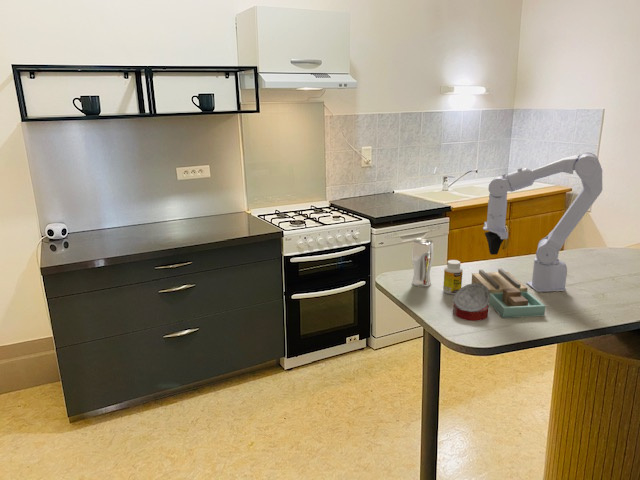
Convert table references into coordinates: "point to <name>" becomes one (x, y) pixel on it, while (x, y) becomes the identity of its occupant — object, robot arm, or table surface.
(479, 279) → the slot deck
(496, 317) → the table surface
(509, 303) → the block
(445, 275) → the supplement bottle
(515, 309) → the tray
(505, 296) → the brown block
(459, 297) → the canned food
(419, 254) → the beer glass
